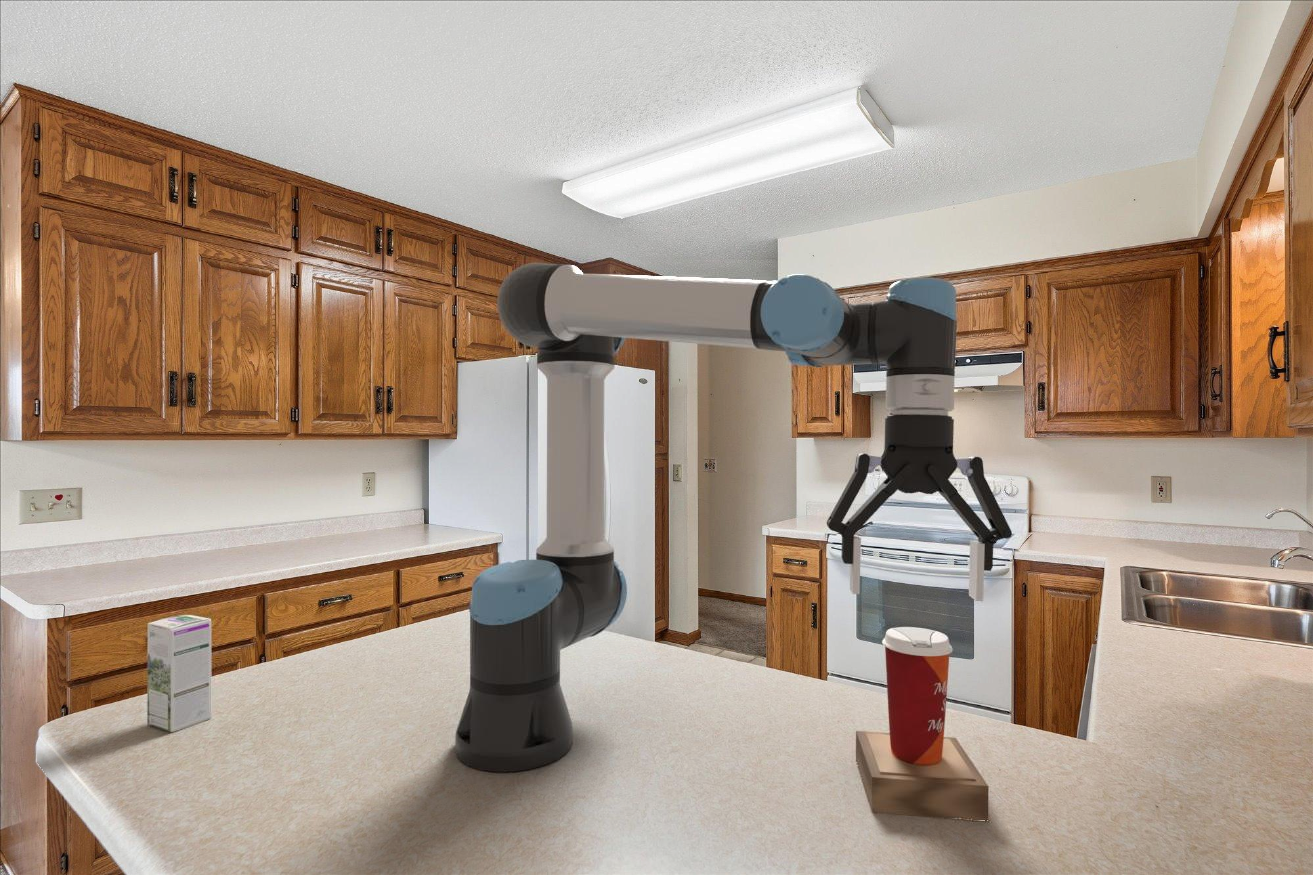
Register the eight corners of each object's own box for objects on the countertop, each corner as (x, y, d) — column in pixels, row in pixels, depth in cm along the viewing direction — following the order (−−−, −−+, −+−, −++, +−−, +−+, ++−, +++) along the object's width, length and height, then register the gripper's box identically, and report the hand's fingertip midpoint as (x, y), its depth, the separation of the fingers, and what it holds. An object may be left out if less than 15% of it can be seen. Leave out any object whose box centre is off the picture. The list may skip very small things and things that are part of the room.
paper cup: (959, 773, 74) (959, 646, 75) (885, 766, 76) (886, 641, 76) (943, 742, 82) (944, 627, 82) (877, 736, 84) (878, 623, 84)
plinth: (871, 811, 74) (872, 775, 74) (855, 760, 86) (856, 729, 86) (988, 821, 72) (988, 784, 72) (955, 768, 84) (955, 736, 84)
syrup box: (213, 718, 97) (214, 616, 97) (168, 734, 91) (170, 626, 92) (188, 711, 99) (190, 612, 99) (144, 726, 94) (145, 621, 94)
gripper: (812, 410, 77) (808, 595, 77) (1046, 414, 74) (1041, 609, 74) (807, 413, 85) (803, 582, 85) (1020, 417, 81) (1015, 593, 81)
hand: (914, 595), depth 79 cm, fingers open, 13 cm apart
